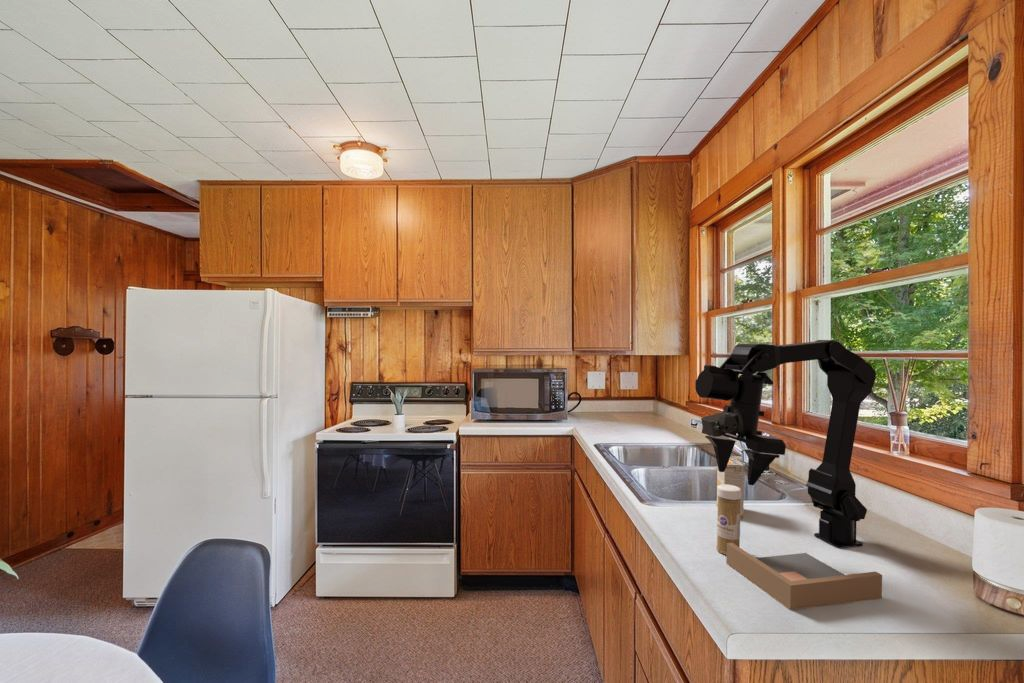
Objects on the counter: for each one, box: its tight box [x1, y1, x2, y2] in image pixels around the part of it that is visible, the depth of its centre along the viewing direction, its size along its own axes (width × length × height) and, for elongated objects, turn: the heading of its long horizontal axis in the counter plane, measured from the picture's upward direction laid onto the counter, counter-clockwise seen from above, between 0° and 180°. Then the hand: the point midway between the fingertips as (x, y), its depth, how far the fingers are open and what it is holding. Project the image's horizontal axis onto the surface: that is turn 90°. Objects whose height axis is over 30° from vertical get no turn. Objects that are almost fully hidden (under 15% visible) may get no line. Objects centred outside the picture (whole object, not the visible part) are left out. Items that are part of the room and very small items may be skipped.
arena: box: [726, 543, 883, 611], centre depth 88 cm, size 18×16×4 cm
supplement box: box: [716, 456, 745, 519], centre depth 122 cm, size 8×5×13 cm, turn 168°
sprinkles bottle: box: [716, 484, 741, 556], centre depth 99 cm, size 5×5×13 cm
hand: (735, 478), depth 99 cm, fingers open, 9 cm apart
